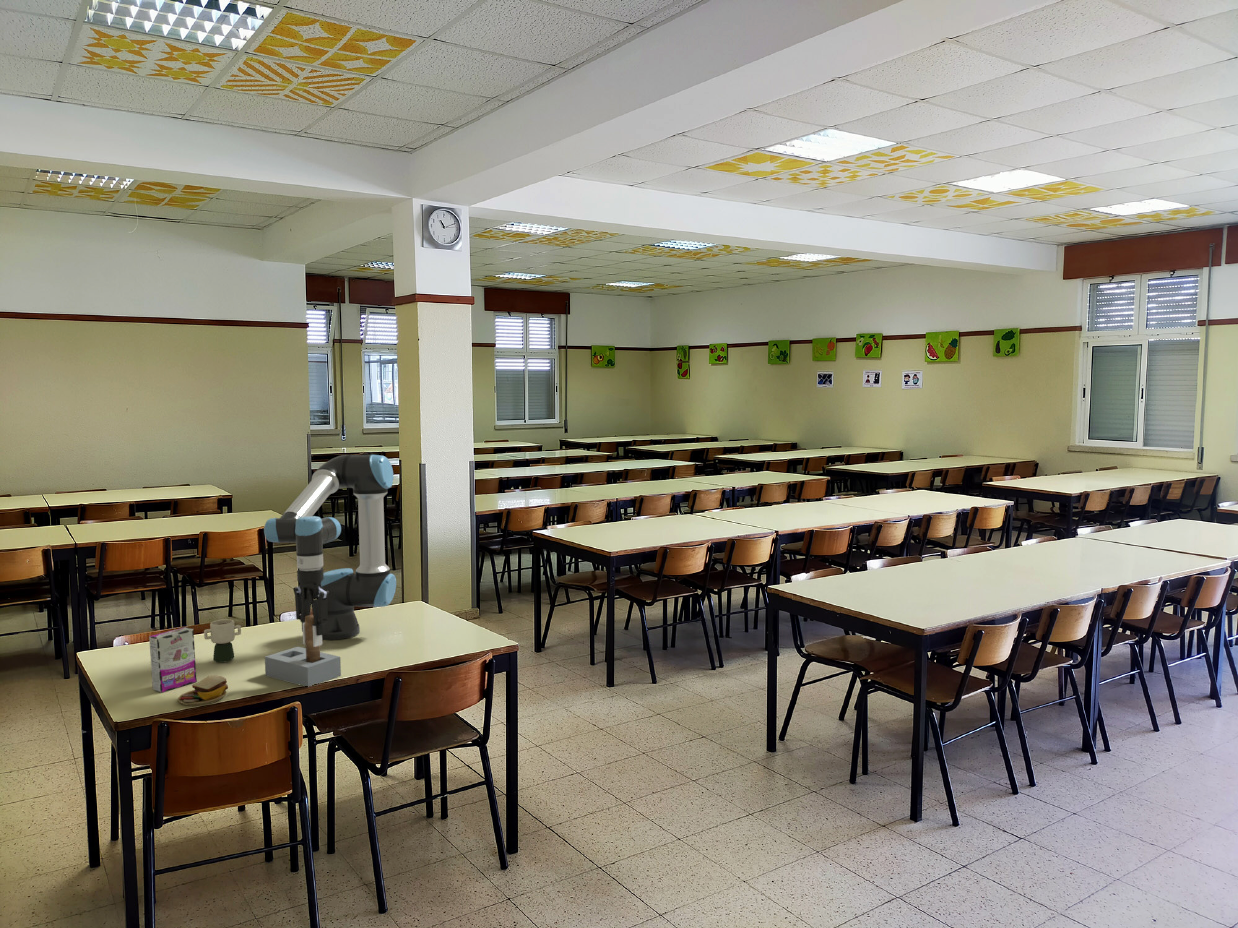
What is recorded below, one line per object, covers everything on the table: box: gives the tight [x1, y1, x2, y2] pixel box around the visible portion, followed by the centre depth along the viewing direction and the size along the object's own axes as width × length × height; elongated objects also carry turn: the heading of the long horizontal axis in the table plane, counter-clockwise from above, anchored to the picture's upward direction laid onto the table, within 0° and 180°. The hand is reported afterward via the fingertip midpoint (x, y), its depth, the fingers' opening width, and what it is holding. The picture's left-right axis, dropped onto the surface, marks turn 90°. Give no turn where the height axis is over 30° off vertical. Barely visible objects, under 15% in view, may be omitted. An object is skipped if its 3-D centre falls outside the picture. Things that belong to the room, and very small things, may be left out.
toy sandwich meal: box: [177, 674, 229, 707], centre depth 244 cm, size 12×14×5 cm
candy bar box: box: [148, 626, 198, 694], centre depth 253 cm, size 11×5×16 cm, turn 148°
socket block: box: [264, 646, 342, 688], centre depth 263 cm, size 20×12×6 cm, turn 58°
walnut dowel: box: [305, 614, 321, 663], centre depth 259 cm, size 4×4×14 cm
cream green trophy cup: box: [203, 618, 242, 663], centre depth 277 cm, size 11×7×13 cm, turn 122°
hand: (312, 644), depth 260 cm, fingers closed on walnut dowel, 4 cm apart
